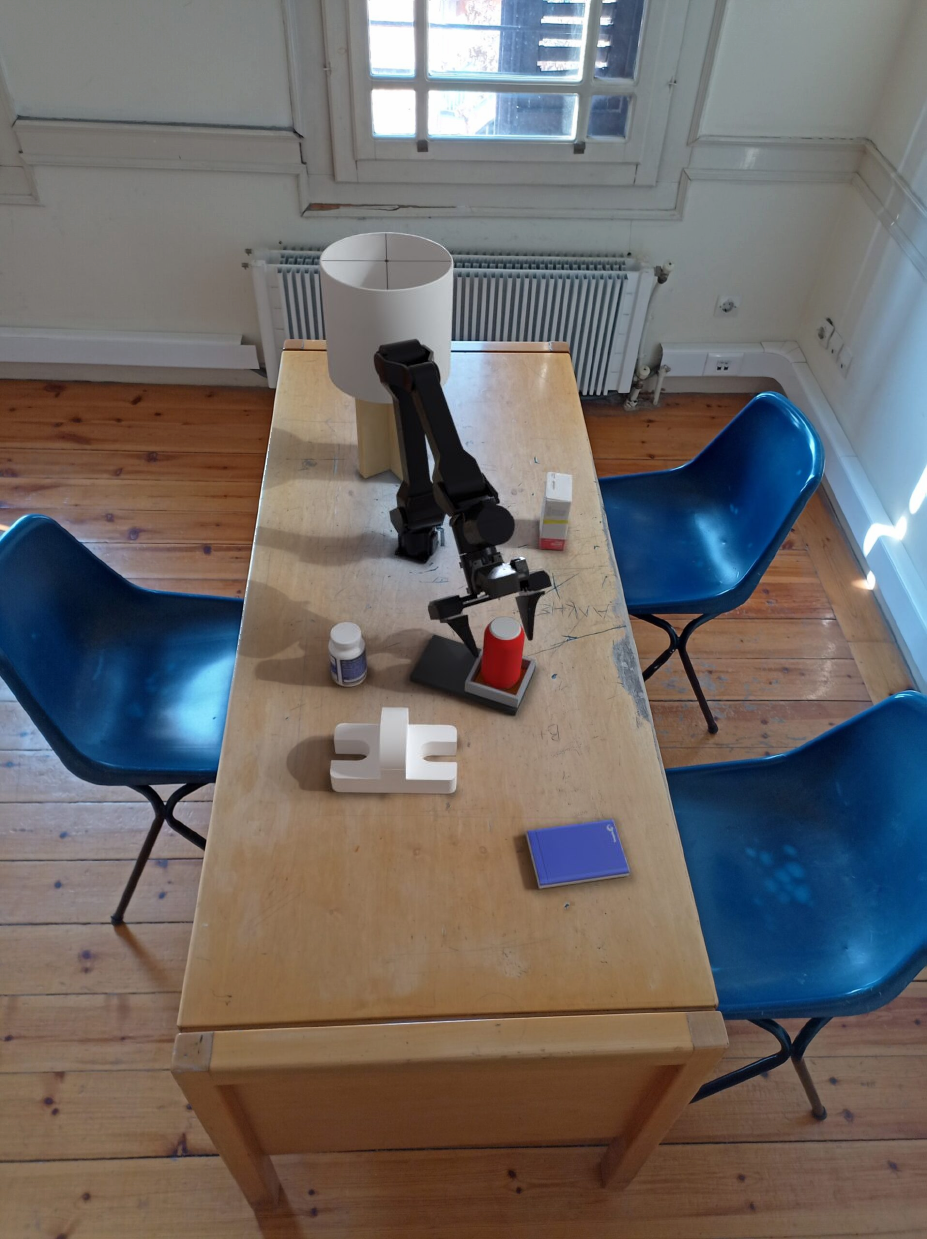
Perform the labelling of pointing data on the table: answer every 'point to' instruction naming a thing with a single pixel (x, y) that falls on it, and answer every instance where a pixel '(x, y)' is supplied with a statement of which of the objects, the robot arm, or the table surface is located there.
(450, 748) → the white slotted fin bracket
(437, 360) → the lamp
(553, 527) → the ink box
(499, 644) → the beverage can
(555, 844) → the hard drive
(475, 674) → the black tray with frame
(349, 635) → the pill bottle
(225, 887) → the table surface
